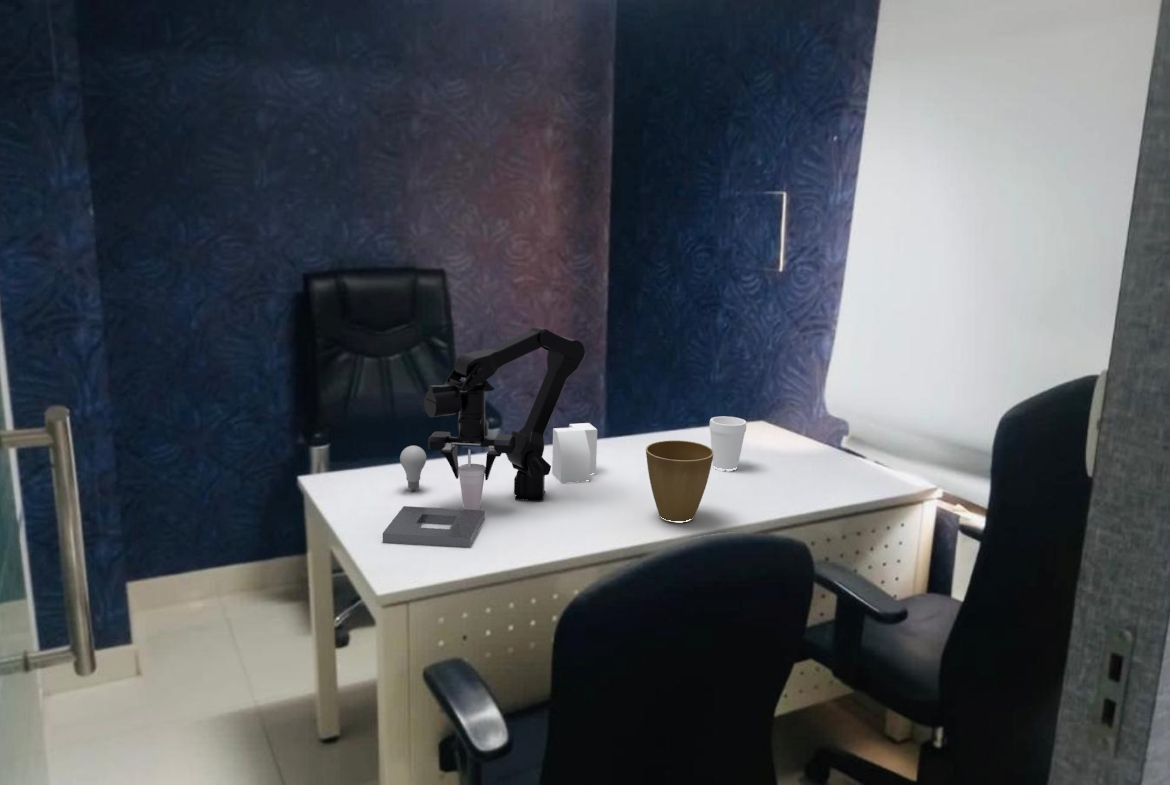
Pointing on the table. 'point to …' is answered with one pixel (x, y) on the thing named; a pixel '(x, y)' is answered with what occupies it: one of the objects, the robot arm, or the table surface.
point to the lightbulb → (413, 465)
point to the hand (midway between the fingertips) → (472, 479)
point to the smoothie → (471, 483)
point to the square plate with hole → (458, 535)
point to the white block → (574, 452)
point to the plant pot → (678, 476)
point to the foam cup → (727, 440)
